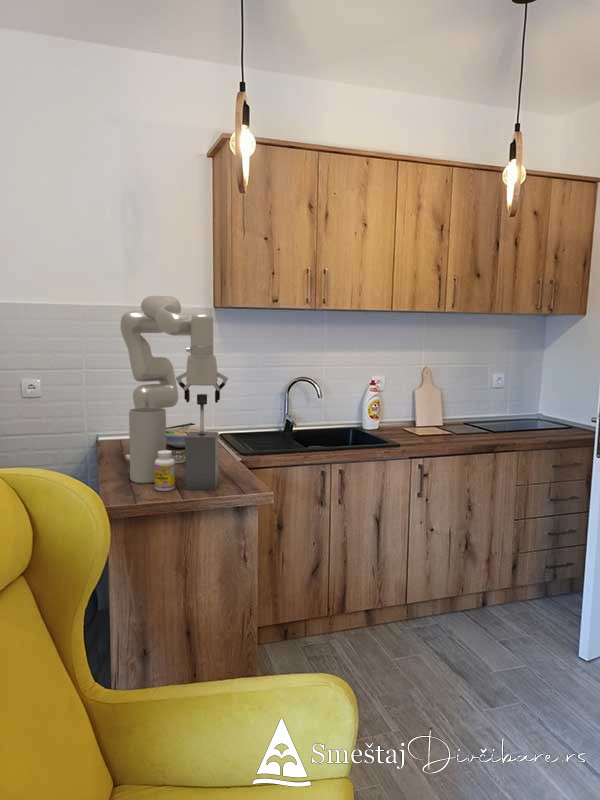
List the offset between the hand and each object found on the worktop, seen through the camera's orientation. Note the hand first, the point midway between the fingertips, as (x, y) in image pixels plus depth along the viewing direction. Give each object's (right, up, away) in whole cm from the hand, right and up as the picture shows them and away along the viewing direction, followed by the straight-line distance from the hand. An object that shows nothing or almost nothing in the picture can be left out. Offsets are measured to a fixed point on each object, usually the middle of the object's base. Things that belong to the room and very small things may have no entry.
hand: (202, 402), depth 203 cm
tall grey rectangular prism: (-1, -29, +5) cm, 29 cm away
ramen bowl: (-20, -20, +68) cm, 73 cm away
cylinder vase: (-21, -28, +11) cm, 37 cm away
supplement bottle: (-12, -30, -1) cm, 32 cm away
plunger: (0, -19, +3) cm, 19 cm away
